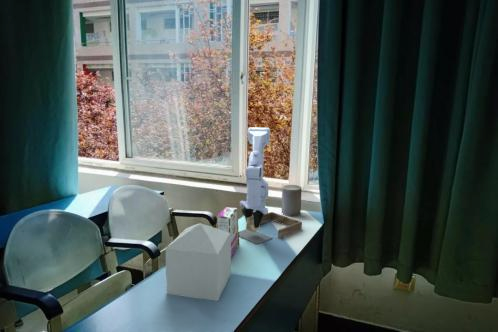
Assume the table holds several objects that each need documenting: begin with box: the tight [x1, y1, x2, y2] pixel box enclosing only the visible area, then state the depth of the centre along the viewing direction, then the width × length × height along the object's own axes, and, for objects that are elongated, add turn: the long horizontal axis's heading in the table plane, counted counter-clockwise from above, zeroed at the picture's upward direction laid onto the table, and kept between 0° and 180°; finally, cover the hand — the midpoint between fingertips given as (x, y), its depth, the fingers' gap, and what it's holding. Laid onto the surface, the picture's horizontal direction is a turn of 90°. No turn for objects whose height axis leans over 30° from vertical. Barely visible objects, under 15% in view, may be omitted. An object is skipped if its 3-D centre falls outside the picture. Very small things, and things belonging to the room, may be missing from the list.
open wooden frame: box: [260, 211, 303, 239], centre depth 156 cm, size 18×15×4 cm
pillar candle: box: [281, 184, 302, 217], centre depth 175 cm, size 10×10×15 cm
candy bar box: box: [216, 206, 238, 259], centre depth 129 cm, size 11×5×16 cm, turn 168°
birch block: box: [245, 216, 261, 232], centre depth 145 cm, size 4×4×5 cm
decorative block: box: [165, 222, 232, 302], centre depth 107 cm, size 16×16×20 cm
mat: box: [238, 229, 273, 245], centre depth 146 cm, size 14×9×1 cm, turn 45°
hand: (252, 226), depth 145 cm, fingers closed on birch block, 4 cm apart
